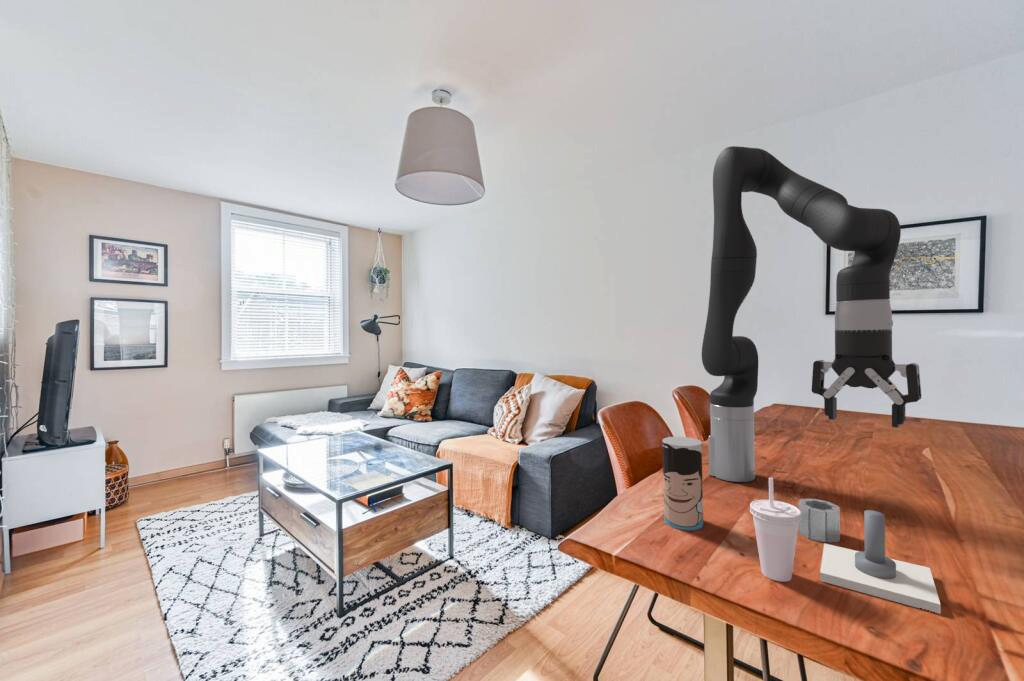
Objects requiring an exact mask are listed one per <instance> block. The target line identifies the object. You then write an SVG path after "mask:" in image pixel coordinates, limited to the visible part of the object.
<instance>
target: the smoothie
mask: <svg viewBox="0 0 1024 681" xmlns="http://www.w3.org/2000/svg"><path fill="white" fill-rule="evenodd" d="M774 497H775V495H774V478H773V477H768V499H757V500H753V501H751V502H750V503H749V512H750V513H751V515H752V517H753V518H752V519H753V525H754V533H755V536H756V538H755V539H756V545H757V552H758V557H759V558H758V559H759V563H760V571H761V573H762V575H763V576H765V577H766V578H768V579H770V580H772V581H776V582H783V583H784V582H785V583H786V582H790V581H791V580H792V576H793V569H794V564H795V563H794V560H795V554H796V553H795V552H796V547H797V540H798V533H799V522H801V521H802V517H801V511H800V510H799V509H798V506H797V507H796V506H795V505H793V504H792V503H791V504H790V503H789V502H788V503H787V502H785V501H784V502H783V501H780V500H775V499H774Z"/></svg>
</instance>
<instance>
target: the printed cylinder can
mask: <svg viewBox="0 0 1024 681" xmlns="http://www.w3.org/2000/svg"><path fill="white" fill-rule="evenodd" d="M661 444H662V482H663V483H662V484H663V486H662V487H663V522H666V523H667V524H666V523H665V524H666V525H667V526H669V525H670V527H671V528H674V529H677V530H680V531H681V530H683V531H696V530H699V529H701V528H703V527H704V505H703V504H704V502H703V494H704V492H703V456H702V455H703V452H702V447H703V446H702V444H703V443H702V441H701V440H700V439H696V438H694V437H687V436H668V437H665V438H663V439H662V442H661Z"/></svg>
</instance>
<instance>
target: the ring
mask: <svg viewBox="0 0 1024 681" xmlns="http://www.w3.org/2000/svg"><path fill="white" fill-rule="evenodd" d="M797 504H798V506H797V508H798V509H799V510H800V511H801V517H802V521H801V522H799V525H798V533H799V534H800V535H802V536H804V537H805V538H807V539H810V540H813V541H817V542H821V543H826V544H831V543H839V542H840V539H841V520H840V519H841V517H840V516H841V515H840V513H841V512H840V511H841V510H840V509H841V508H840V506H839V505H837V504H835V503H832V502H830V501H827V500H823V499H817V498H801V499H799V500H798V503H797Z"/></svg>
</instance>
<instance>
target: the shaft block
mask: <svg viewBox="0 0 1024 681" xmlns="http://www.w3.org/2000/svg"><path fill="white" fill-rule="evenodd" d="M863 513H864V514H863V517H864V518H863V520H864V522H863V523H864V524H863V525H864V533H863V534H864V551H859V550H854V549H850V548H847V547H841V546H839V545H833V544H830V543H826V542H823V550H822V555H821V557H822V558H821V561H820V562H821V564H820V569H819V570H820V571H819V581H820V582H823V583H827V584H830V585H834V586H837V587H840V588H845V589H848V590H851V591H855V592H860V593H863V594H865V595H866V594H867V595H868V596H869V595H870V596H874V597H878V598H881V599H884V600H887V601H892V602H896V603H897V604H898V603H900V604H902V605H906V606H910V607H912V608H913V607H914V608H917V609H920V608H922V609H921V610H924V609H927V610H930V611H929V612H931V611H932V612H931V613H934V612H935V613H934V614H939V615H941V613H942V611H941V610H942V608H941V602H940V598H939V594H938V591H937V588H936V584H935V581H934V577H933V574H932V571H931V568H930V567H927V566H924V565H919V564H915V563H911V562H907V561H903V560H898V559H893V558H889V557H888V556H886V521H885V520H886V515H885V514H884V513H882V512H880V511H877V510H872V509H867V510H864V511H863ZM927 610H926V611H927Z"/></svg>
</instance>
